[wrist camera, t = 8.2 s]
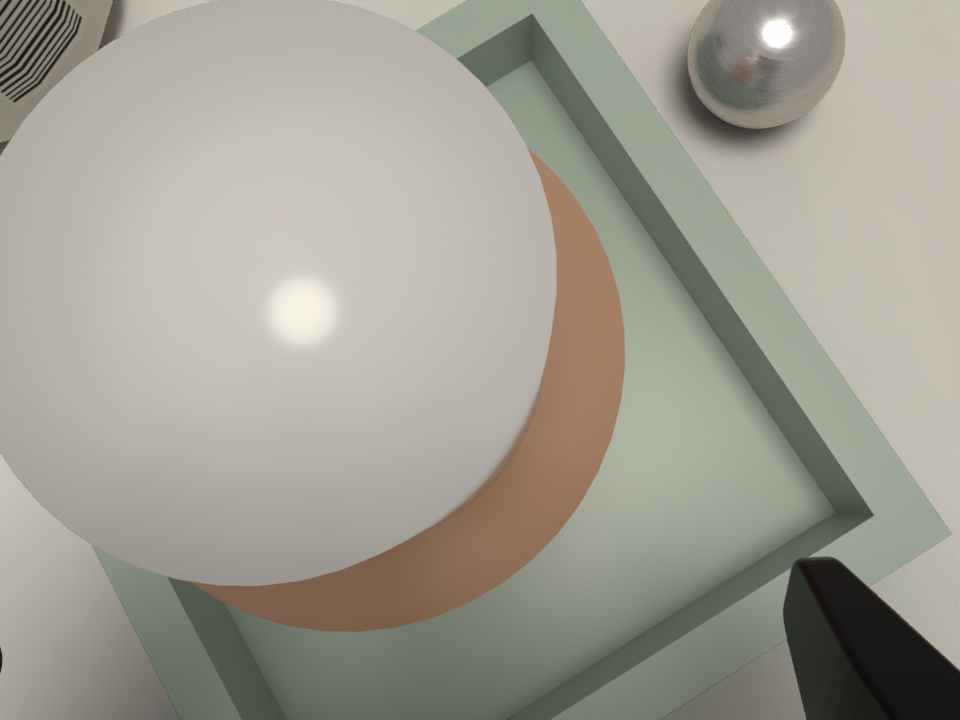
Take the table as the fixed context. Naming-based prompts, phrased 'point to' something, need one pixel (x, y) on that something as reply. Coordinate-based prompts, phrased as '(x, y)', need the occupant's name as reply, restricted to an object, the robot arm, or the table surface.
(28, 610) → the table surface
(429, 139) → the shaker
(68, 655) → the table surface
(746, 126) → the ball
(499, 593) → the tray
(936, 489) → the table surface
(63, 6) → the supplement can
